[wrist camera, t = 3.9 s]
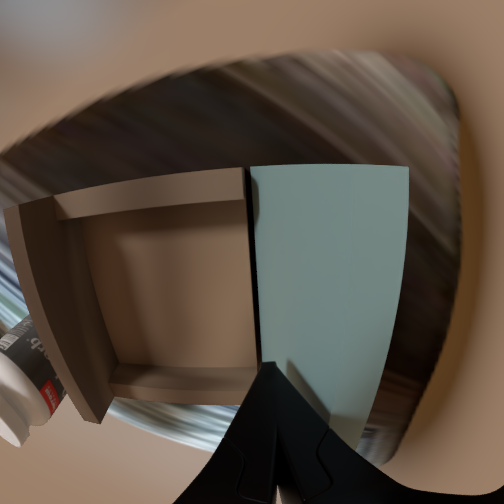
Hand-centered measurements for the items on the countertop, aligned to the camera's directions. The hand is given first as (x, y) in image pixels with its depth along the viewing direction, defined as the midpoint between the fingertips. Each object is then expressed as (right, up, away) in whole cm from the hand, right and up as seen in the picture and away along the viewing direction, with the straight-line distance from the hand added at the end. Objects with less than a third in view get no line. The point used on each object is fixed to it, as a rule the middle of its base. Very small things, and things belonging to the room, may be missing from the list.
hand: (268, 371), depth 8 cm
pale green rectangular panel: (0, +2, +6) cm, 6 cm away
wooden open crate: (-6, +2, +7) cm, 9 cm away
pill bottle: (-15, -2, +9) cm, 17 cm away
